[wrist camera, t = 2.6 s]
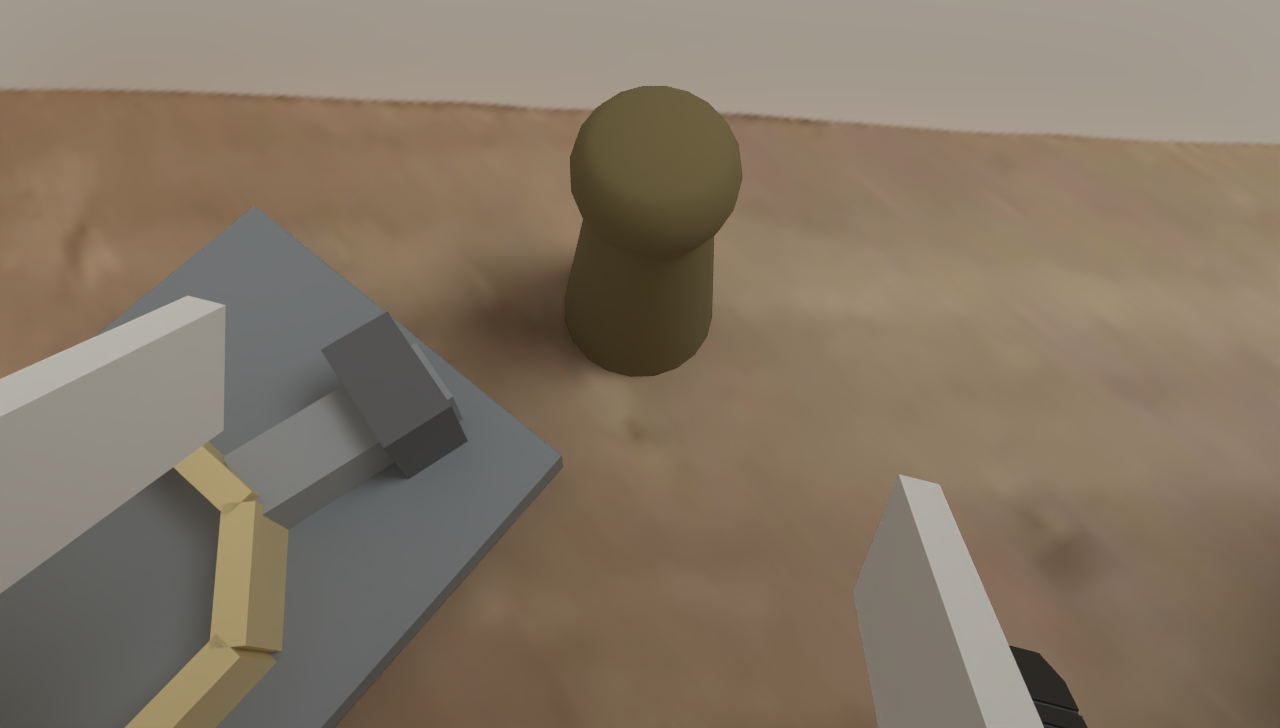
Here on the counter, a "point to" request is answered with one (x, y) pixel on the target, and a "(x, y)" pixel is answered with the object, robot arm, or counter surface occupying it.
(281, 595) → the stand
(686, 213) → the cork
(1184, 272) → the counter surface
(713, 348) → the counter surface
